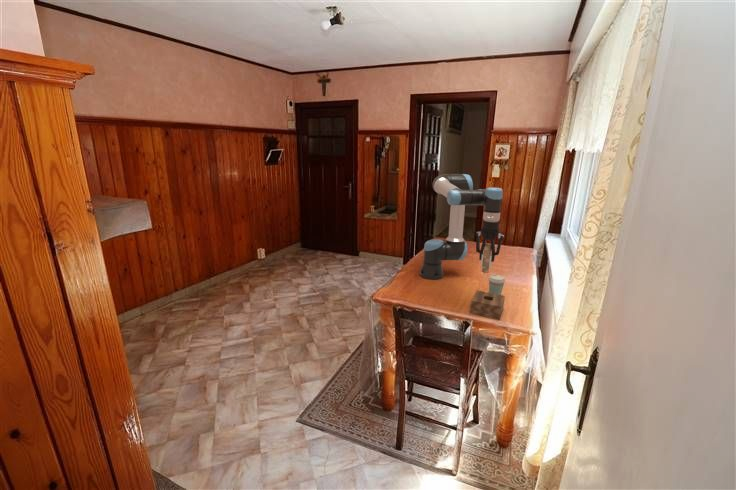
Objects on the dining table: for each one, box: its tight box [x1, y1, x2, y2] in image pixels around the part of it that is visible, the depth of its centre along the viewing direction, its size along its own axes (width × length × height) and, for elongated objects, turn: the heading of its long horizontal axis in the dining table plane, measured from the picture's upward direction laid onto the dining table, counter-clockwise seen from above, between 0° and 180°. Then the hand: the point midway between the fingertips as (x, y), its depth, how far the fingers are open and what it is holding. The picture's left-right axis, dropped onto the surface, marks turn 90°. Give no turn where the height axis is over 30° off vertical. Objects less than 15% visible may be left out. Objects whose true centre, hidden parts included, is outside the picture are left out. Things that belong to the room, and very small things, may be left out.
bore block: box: [469, 290, 506, 321], centre depth 170 cm, size 14×14×7 cm
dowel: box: [481, 243, 492, 274], centre depth 164 cm, size 3×3×14 cm
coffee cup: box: [488, 274, 506, 295], centre depth 185 cm, size 8×9×12 cm
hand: (485, 266), depth 166 cm, fingers closed on dowel, 3 cm apart
